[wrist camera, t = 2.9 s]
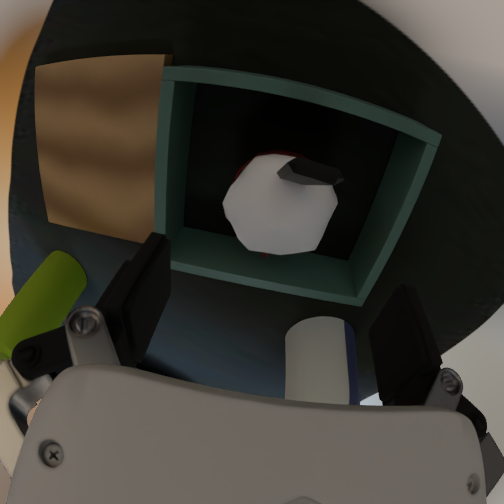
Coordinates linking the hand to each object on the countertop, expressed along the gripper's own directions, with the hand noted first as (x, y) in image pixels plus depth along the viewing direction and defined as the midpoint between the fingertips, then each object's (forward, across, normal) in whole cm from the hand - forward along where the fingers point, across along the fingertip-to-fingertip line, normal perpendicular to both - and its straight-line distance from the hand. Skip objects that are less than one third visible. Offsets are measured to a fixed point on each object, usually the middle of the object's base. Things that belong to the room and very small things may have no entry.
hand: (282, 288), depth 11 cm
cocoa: (+11, 0, 0) cm, 11 cm away
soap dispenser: (+12, +22, +15) cm, 29 cm away
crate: (+11, 0, 0) cm, 11 cm away
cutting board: (+11, +15, 0) cm, 19 cm away
